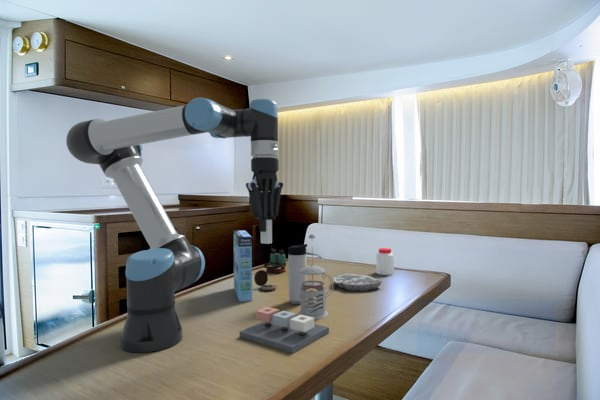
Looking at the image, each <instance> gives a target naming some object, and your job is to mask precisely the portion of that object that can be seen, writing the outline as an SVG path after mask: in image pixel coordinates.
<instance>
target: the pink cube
mask: <svg viewBox="0 0 600 400" xmlns="http://www.w3.org/2000/svg"><path fill="white" fill-rule="evenodd" d="M279 312H280V309H279V308H278V309H277V308H273V307H269V306H265V307H263V308H261V309H258V310H256V311H255V313H256V314H255V318H256V319H255V320H257V321H261V322H263V321H264V322H265V325H270V322H271V321H273V315H274V314H276V313H279Z"/></svg>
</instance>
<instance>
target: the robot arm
mask: <svg viewBox="0 0 600 400" xmlns="http://www.w3.org/2000/svg"><path fill="white" fill-rule="evenodd" d="M206 133H208V134H209V135H210V136H211V137H212V138H214V139H227V138H229V139H230V138H242V137H243V138H244V137H247V138H248V137H250V156H251V157H252V158H251V159H250V169H251V170H250V171H251V172H252V173H253V175H252V178H251V179H252V180H251V181H250V182H246V183H245V187H246V189H247V190H248V191H247V192H248V196H249V200H250V205H251V211H252V212H251V213H252V217H253V218H254V219H256V220H258V223H259V225H258V227H259V228H258V229H259V232H260V244H265V245H266V244H267V245H269V244H272V243H273V229H274V226H273V223H274V222H273V221H274V220H276V218H277V217H278V215H279V210H280V202H281V194H282V189H283V187H284V183H283V182H280V181H278V176H277V172H278V171H279V170H280V169H279V168H280V167H279V166H280V165H279V159H278V156H279V136H278V135H279V116H278V104H277V102H276V101H274V100H273V99H268V98H259V99H258V98H257V99H252V100H251V101H250V102H249V108H244V109H231V108H229V107H226V106H223V105H222V104H220V103H218V102H216V101H214V100H212V99H210V98H205V97H201V96H199V97H194V98H193V99H191V100H190V101H189V102H188V103H187V104H185V105H184V104H183V105H180V106H175V107H170V108H167V109H166V108H164V109H160V110H156V111H150V112H145V113H144V112H143V113H139V114H135V115H131V116H125V117H119V118H115V119H109V120H104V119H103V118H102V119H101V118H94V119H90V120H85V121H80V122H78V123H76V124H74V125H72V126H71V128H70V129H69V130H68V132H67V134H66V138H65V139H66V141H65V142H66V144H65V145H66V146H67V150H68V151H69V153H70V155H72V156H73V157H74V159H76V160H78V161H80V162H83V163H85V164H91V165H99V167H100V169H101V170H102V172H103V174H104V175H105V177H107V178H110V179H113V181H114V183H115V185H116V187H117V189H118V190H119V192H120V194H121V196H122V198H123V200H124V202H125V203H126V205H127V207H128V209H129V210H130V213H131V214H132V216H133V218H134V221H135V222H136V223H137V226H138V227H139V229H140V231H141V233H142V235H143V237H144V239H145V241H146V242H147V244H148V245H149V247H150V248H149V249H147V250H145V249H144V250H140V251H137V252H134V253H132V254H131V255H129V256H128V258H127V259H126V265H125V270H124V271H125V272H124V274H125V282H126V283H125V284H126V285H125V286H126V306H127V307H126V308H127V309H126V310H127V313H126V314H127V315H126V317H125V322H124V324H123V328H122V332H121V335H120V347H121V349H122V350H124V351H127V352H131V353H151V352H156V351H162V350H165V349H168V348H171V347H173V346H175V345H177V344H178V343H180V342H181V340H183V327H182V324H181V322H180V318H179V317H178V313H177V311H176V306H175V305H176V301H175V299H176V298H175V296H176V295H175V292H177V291H180V290H181V289H184V288H186V287H189V286H191V285H192V284H194V283H195V282H197V281H199V279H200V278H201V277H202V275H203V274H204V271H205V268H206V267H205V266H206V260H205V256H204V254H203V252H202V251H201V249H200V248H199V247H197V246H194V245H192V244H190V242H189V240H188V239H187V238H186V236H185V235H183V234H179V233H178V232H177V230H176V228H175V226H174V224H173V222H172V221H171V219H170V217H169V215H168V214H167V212H166V211H165V207H164V206H163V205H162V203H161V201H160V199H159V198H158V196H157V194H156V192H155V190H154V188H153V185H151V183H150V181H149V179H148V177H147V175H146V174H145V171H144V170H143V168H142V164H143V157H142V151H143V144H145V145H146V144H149V143H150V144H151V143H155V142H160V141H166V140H172V139H177V138H184V137H188V136H193V135H200V134H206Z"/></svg>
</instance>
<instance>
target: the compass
mask: <svg viewBox="0 0 600 400" xmlns="http://www.w3.org/2000/svg"><path fill="white" fill-rule="evenodd" d="M268 280H269V275H268V273H267V272H266V271H265V270H264V269H260V270H257V271H256V273H255V274H254V280H253V281H254V282H255V285H257V286H260V287H259V291H260V292H264V293H267V292H268V293H269V292H274V291H275V290H276V287H278V285H277V284H275V285H273V284H267V283H268Z"/></svg>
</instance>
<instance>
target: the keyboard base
mask: <svg viewBox="0 0 600 400" xmlns="http://www.w3.org/2000/svg"><path fill="white" fill-rule="evenodd" d="M314 326H315V327H313V328H311V329H309V330H308V331H306V332H305V334H304V335H301V334H300V331H298V330H294V329H290V326H287V330H282V326H279V325H275V324H273V321H271V322H270V325H265V322H264V321H261V322H258V323H256V324H254V325H252V326H249V327H247V328H245V329H241V330H240V331H239V338H242V339H246V340H249V341H251V342H253V343H259V344H262V345H265V346H268V347H270V348H274V349H278V350H281V351H284V352H287V353H290V354H294V353H296V352H298V351H300V350H301V349H303V348H305V347H307V346H308V345H310V344H312V343H314V342H315V341H317V340H319V339H320V338H323V337H325V335H328V334H329V333H330V327H329V326H325V325H321V324H317V323H314Z"/></svg>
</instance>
